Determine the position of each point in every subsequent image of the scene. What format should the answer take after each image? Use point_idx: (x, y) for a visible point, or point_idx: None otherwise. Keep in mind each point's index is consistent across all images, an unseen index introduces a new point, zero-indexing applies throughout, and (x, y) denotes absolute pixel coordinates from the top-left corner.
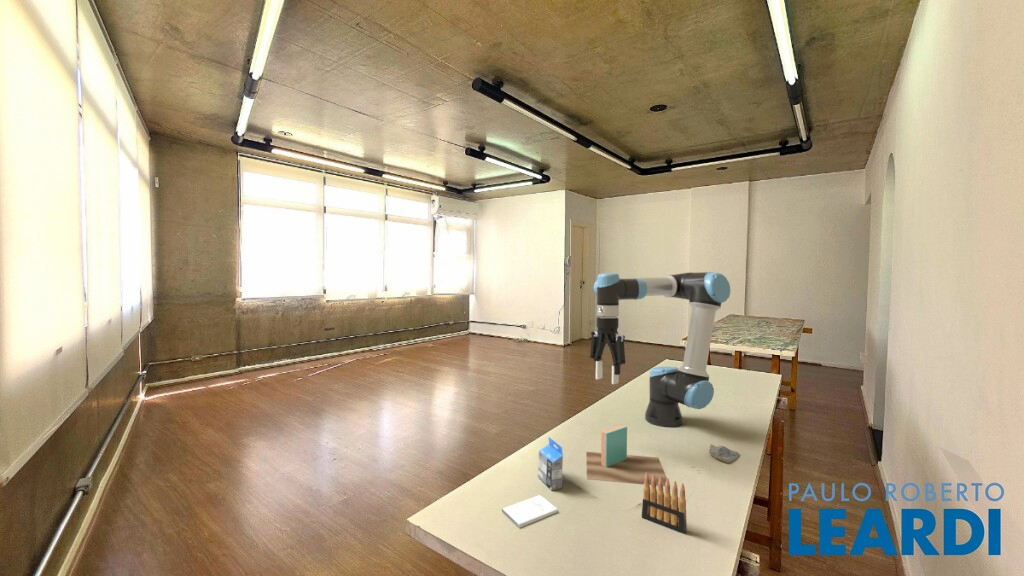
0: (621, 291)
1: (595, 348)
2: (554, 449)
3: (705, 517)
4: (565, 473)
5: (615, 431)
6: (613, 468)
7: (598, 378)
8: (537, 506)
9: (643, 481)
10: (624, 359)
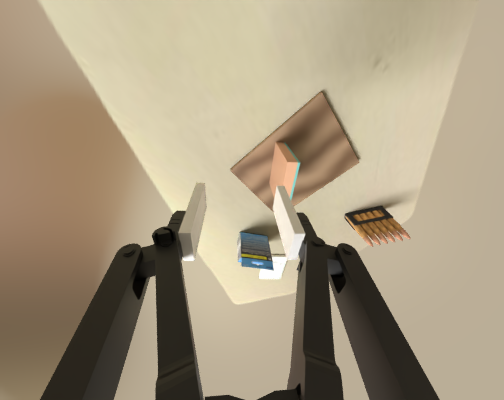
0: None
1: (126, 320)
2: (255, 259)
3: (397, 178)
4: (249, 218)
5: (292, 191)
6: None
7: (205, 202)
8: (275, 264)
9: (328, 176)
10: (362, 268)
